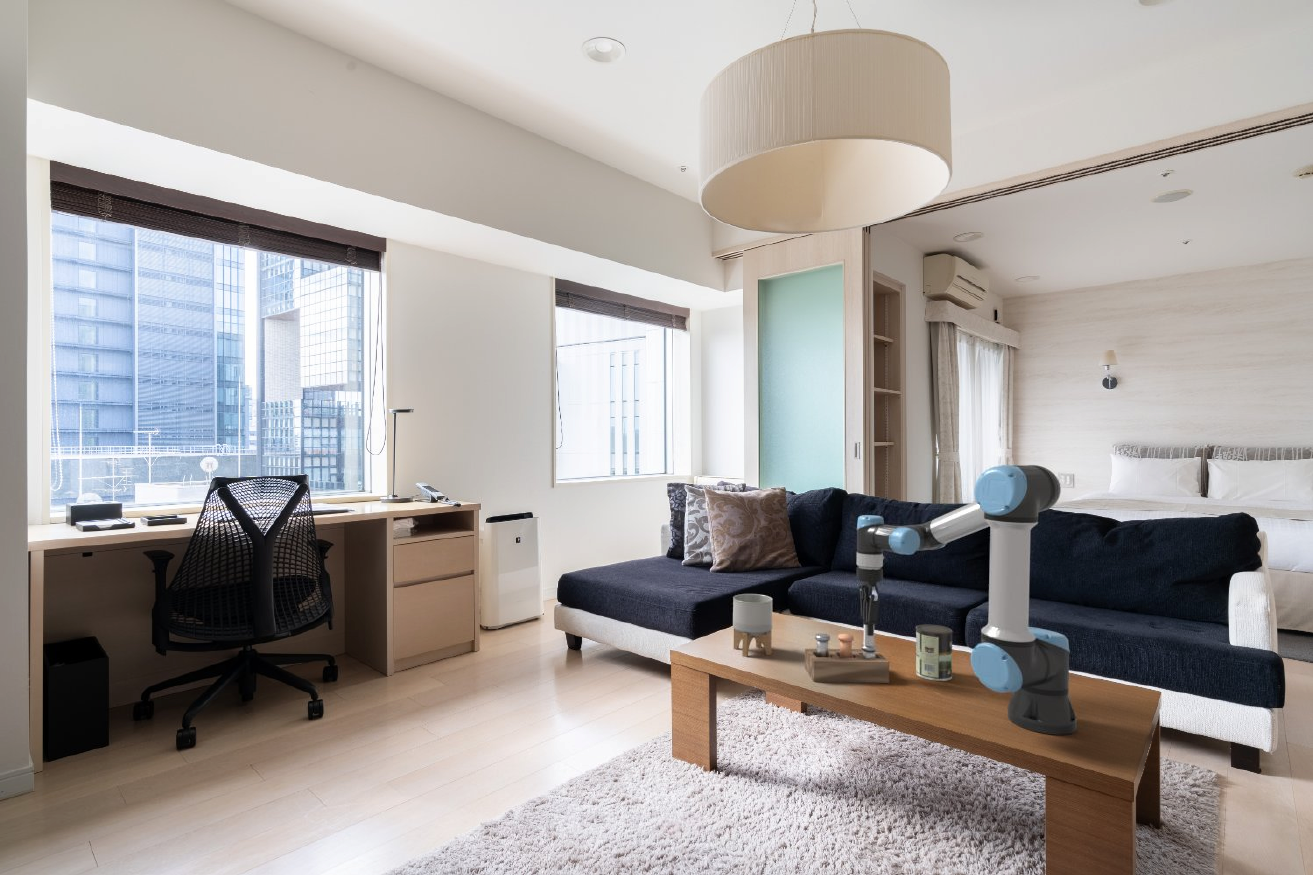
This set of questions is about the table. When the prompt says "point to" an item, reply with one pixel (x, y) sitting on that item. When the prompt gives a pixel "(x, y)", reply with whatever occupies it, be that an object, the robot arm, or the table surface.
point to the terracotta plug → (845, 645)
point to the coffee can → (934, 652)
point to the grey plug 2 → (869, 651)
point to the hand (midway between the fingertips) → (868, 645)
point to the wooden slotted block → (846, 667)
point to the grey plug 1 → (822, 644)
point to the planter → (752, 621)
